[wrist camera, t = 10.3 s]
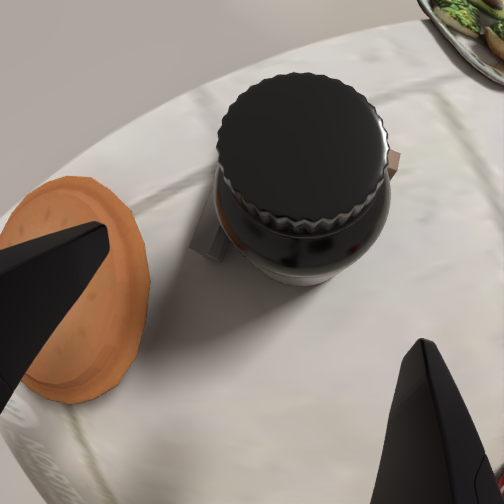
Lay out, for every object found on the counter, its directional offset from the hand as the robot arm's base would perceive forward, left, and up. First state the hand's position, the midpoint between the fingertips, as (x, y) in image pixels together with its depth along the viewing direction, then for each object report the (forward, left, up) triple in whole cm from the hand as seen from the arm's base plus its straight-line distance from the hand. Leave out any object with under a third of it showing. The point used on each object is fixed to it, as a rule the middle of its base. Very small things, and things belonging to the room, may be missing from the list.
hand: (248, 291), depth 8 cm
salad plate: (+32, +17, -12) cm, 39 cm away
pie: (-14, +5, -12) cm, 19 cm away
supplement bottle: (+3, +3, -12) cm, 13 cm away
